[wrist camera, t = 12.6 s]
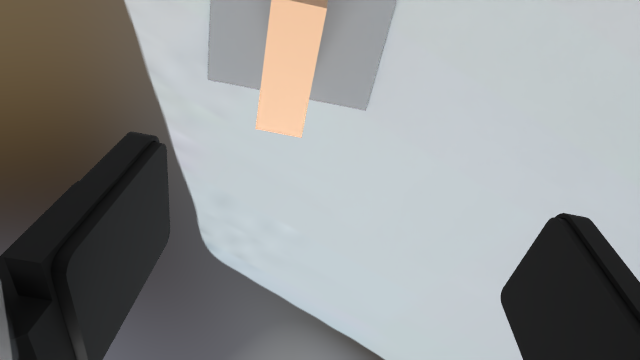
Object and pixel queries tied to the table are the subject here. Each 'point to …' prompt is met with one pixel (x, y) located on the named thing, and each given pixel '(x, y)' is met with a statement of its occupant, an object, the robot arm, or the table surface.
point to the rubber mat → (333, 57)
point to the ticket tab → (289, 64)
